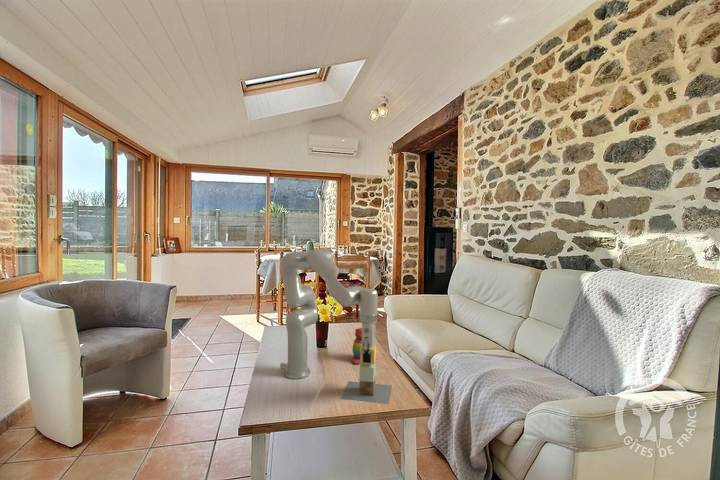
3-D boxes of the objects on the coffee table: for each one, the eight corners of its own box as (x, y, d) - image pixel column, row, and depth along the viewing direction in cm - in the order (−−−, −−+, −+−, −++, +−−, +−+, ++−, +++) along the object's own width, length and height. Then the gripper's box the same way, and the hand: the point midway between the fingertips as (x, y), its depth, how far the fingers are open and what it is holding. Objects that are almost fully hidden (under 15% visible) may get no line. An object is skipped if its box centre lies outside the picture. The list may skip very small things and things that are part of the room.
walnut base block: (359, 394, 143) (359, 380, 142) (361, 387, 149) (361, 374, 148) (373, 395, 142) (373, 382, 141) (375, 389, 148) (375, 375, 147)
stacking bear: (353, 365, 176) (354, 331, 175) (349, 358, 186) (349, 326, 185) (373, 363, 179) (374, 330, 178) (367, 356, 189) (368, 324, 188)
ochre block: (360, 363, 142) (360, 349, 142) (362, 357, 148) (362, 344, 148) (374, 364, 141) (374, 350, 141) (375, 358, 147) (376, 345, 147)
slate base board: (340, 402, 139) (340, 398, 139) (348, 384, 155) (348, 381, 155) (388, 407, 136) (388, 403, 136) (392, 388, 151) (392, 385, 151)
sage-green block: (359, 380, 142) (359, 366, 142) (361, 374, 148) (362, 361, 148) (373, 382, 141) (373, 368, 141) (375, 375, 147) (375, 362, 147)
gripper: (374, 324, 135) (373, 368, 135) (379, 313, 152) (379, 352, 152) (356, 323, 136) (355, 366, 137) (363, 312, 153) (362, 351, 154)
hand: (367, 359), depth 145 cm, fingers closed on ochre block, 6 cm apart
